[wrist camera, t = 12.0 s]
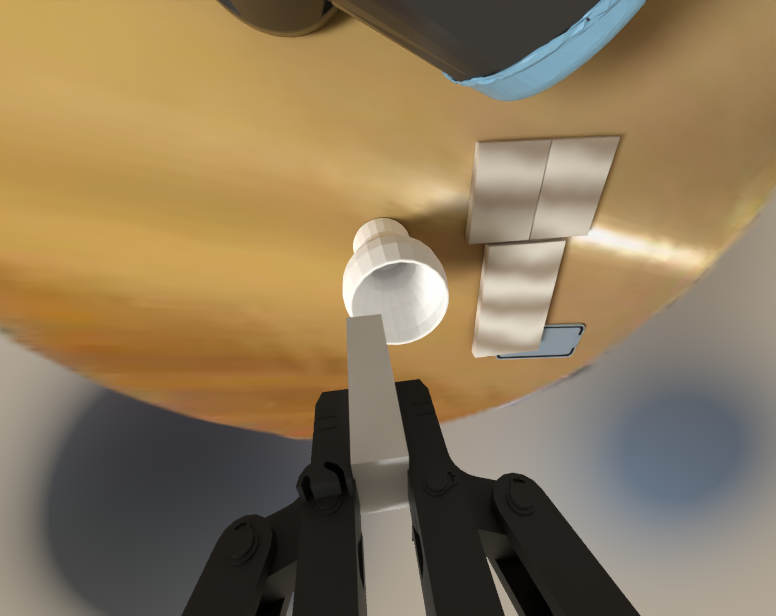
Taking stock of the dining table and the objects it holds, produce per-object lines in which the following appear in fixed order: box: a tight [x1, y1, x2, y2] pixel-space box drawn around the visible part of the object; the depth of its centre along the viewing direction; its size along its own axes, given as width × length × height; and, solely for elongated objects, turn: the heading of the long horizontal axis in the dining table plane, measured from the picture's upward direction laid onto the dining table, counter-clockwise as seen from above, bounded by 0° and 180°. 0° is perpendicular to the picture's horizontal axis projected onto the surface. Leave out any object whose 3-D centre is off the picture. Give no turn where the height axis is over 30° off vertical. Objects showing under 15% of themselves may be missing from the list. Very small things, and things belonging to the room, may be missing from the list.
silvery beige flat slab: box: [472, 237, 566, 358], centre depth 48 cm, size 19×11×2 cm, turn 2°
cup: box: [343, 218, 449, 345], centre depth 36 cm, size 11×11×15 cm
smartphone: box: [495, 323, 585, 359], centre depth 55 cm, size 7×1×15 cm
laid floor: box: [465, 136, 620, 244], centre depth 40 cm, size 12×17×2 cm
